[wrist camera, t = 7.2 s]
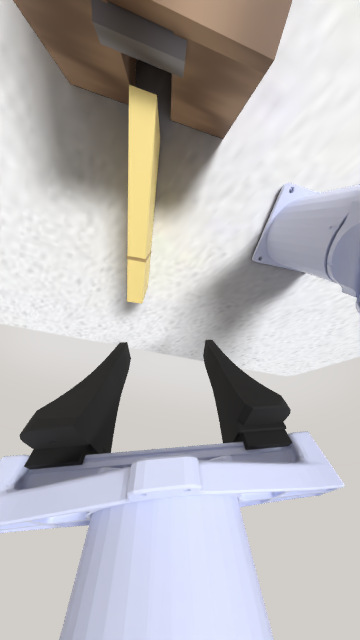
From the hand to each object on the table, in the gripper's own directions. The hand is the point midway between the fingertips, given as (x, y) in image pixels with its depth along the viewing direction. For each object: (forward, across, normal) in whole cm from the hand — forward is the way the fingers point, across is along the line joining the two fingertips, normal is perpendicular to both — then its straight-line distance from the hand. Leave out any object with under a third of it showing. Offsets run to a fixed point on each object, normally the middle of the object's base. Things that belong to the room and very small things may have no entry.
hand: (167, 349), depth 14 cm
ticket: (+10, +2, -9) cm, 14 cm away
